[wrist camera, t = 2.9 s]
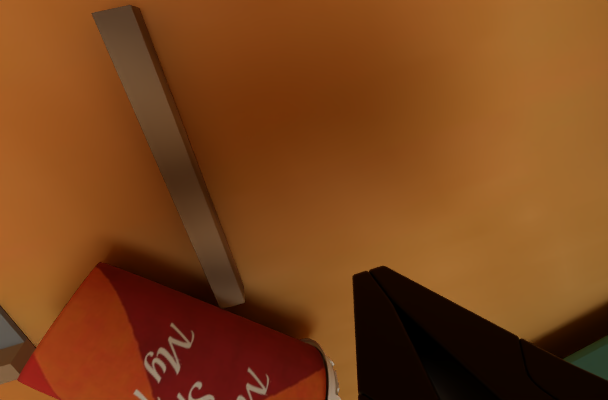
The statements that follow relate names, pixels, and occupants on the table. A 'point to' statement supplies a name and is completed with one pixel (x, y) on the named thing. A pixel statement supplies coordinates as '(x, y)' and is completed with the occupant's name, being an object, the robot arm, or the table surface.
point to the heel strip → (170, 145)
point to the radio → (592, 358)
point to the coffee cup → (169, 349)
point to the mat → (12, 349)
